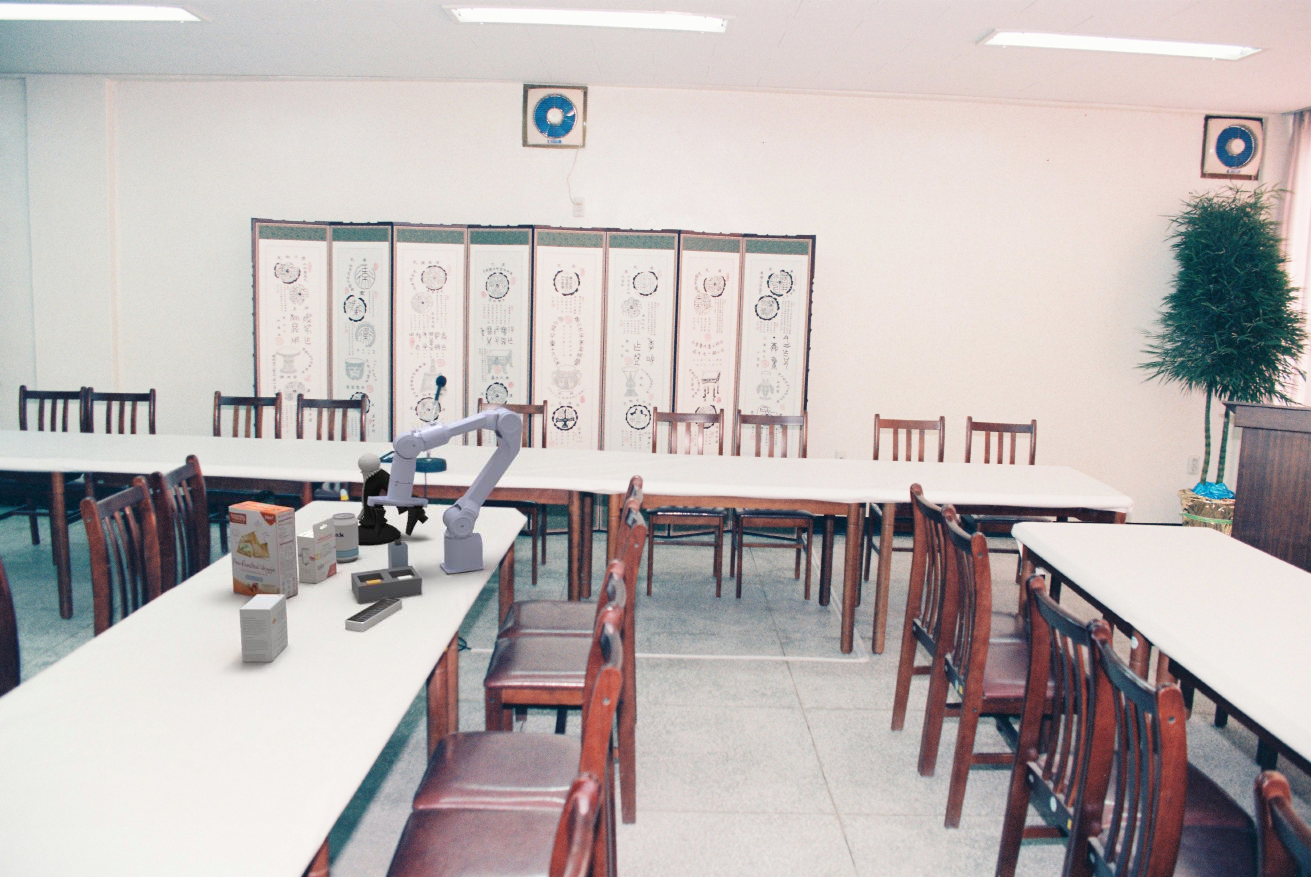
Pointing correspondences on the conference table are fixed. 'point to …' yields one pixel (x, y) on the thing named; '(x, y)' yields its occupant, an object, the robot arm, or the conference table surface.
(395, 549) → the plug
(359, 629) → the multiport hub
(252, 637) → the small box
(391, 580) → the port box
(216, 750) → the conference table surface
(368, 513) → the sculpture
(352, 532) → the beverage can
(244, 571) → the cracker box
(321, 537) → the ink cartridge box
